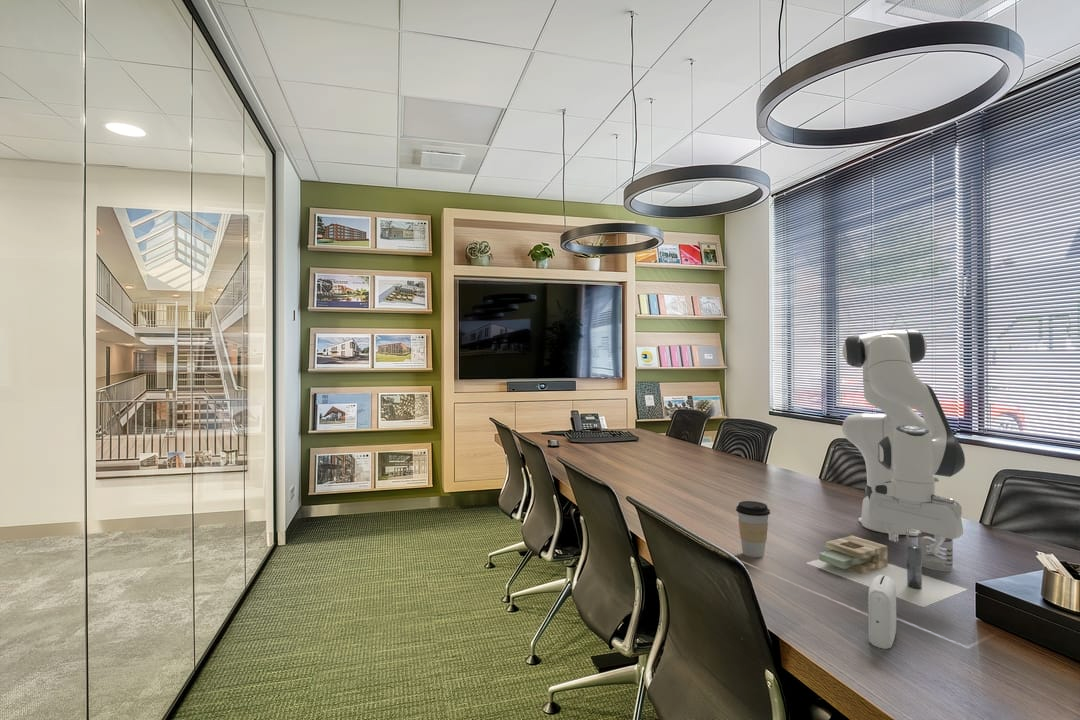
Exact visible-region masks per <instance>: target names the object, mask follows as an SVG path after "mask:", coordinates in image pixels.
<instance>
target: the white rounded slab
mask: <svg viewBox="0 0 1080 720" xmlns="http://www.w3.org/2000/svg"><path fill="white" fill-rule="evenodd" d="M867 599H868V606H867V607H868V640H869V643H871V645H872V646H874V647H875V648H880V649H884V650H888V649H891V648H892V646H893V644H894V641H895V637H896V633H897V597H896V585H895V583H894V581H893V580H892V579H891V578H890V577H888V576H883V575H878V576H876V577H875V578H874V579H873V580H872V582H871V584H870V587H869V588H868V598H867Z"/></svg>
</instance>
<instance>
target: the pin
mask: <svg viewBox="0 0 1080 720" xmlns="http://www.w3.org/2000/svg"><path fill="white" fill-rule="evenodd" d="M915 545H916V544H915ZM915 545H913V544H907V545H906V569H907V586H908V587H910V588H913V589H922V575H923V573H922V572H923V571H922V570H923V569H922V567H923V566H922V548H921V547H919V546H918V545H917V546H915Z"/></svg>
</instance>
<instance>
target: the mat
mask: <svg viewBox="0 0 1080 720" xmlns="http://www.w3.org/2000/svg"><path fill="white" fill-rule="evenodd" d="M806 565H809V566H812V567H815V568H818V569H820V570H822V571H825V572H828V573H830V574H834V575H836V576H839V577H841V578H844V579H846V580H850V581H852V582H855V583H858V584H860V585H862V586H866V587H870V584H871V582H872V580H873V579H874V578H875V577H876V576H878V575H883V576H888V577H890V578H891V579H892V580H893V581H894V583H895V585H896V599H900V600H902V601H905V602H908V603H910V604H913V605H915V606H919V607H921V608H925V607H927V606H931V605H932V604H935V603H938V602H940V601H942V600H946V599H948V598H950V597H953V596H956V595H957V594H960V593H963V592H966V591H968V590H969V589H968V588H965V587H961V586H958V585H955V584H952V583H950V582H947V581H943V580H941V579H937V578H934V577H931V576H928V575H924V574H922V589H913V588H910V587H908V586H907V568H903V567H900V566H897V565H895V564H891V563H888V562H887V566H885V567H882V568H879V569H876V570H873V571H869V572H866V573H863V574H859V573H857V572H854V571H851V570H848V569H843V568H840V567H837V566H834V565H832V564H829V563H826V562H823V561H821V560H819V558H818V559H815V560H811V561H808V562H806Z"/></svg>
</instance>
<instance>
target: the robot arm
mask: <svg viewBox="0 0 1080 720" xmlns="http://www.w3.org/2000/svg"><path fill="white" fill-rule="evenodd" d="M927 349H928V345H927V341H926V339H925V337H924V334H923V333H921V332H920V331H919V330H915V329H906V330H881V331H876V332H870V333H863V334H854V335H851V336H848V337H847V338H845V340H844V343H843V346H842V355H843V358H844V360H845V361H846V364H847V365H849V366H851V367H855V368H862V385H863V396H864V399H865V400H866V402H868V404H869V405H871V406H873V407H875V408H878V409H879V410H881V411H882V412H883V413H866V412H864V413H863V412H862V413H861V412H860V413H854V414H849V415H848V416H847V417H845V418H844V419H843V422H842V426H841V427H842V433H843V435H844V437H845V439H846V440H847V441H848V442H849V443H851V444H853V445H854V446H855V447H856V448H857V450H858V451H859V452H860V453H861V455H862V457H863V460H864V462H865V469H866V484H865V488H864V489H865V495H866V496H865V497H864V498H863V500H862V504H861V505H862V507H861V517H858V522H859V523H861V525H862V527H864V528H866V529H868V530H872V531H873V532H879V533H883V534H888V540H889V541H891V542H895V543H896V542H899V535H905V536H906V528H907V536H908V529H909V528H910V529H909V537H910V536H911V537H918V534H919V533H922V532H925V533H929V534H933V535H934V539H933V540H935V539H936V540H935V541H936V542H935V543H934V544H930V545H929V546H928V547H929V548H930V549H929V550H928V552H933V553H936V554H937V553H941V551H940V549H941V547H940V545H941V544H942V543H943V542H944V541H945V538H949V539H952V540H956V539H960V538H961V537H962V536H963V535H964V526H963V519H962V516H963V515H962V513H963V511H962V509H963V508H962V506H961V504H960V503H959V502H957V501H956V500H955V499H953V498H950V497H942V496H939V495H936V488H935V487H936V485H935V484H936V482H935V479H934V477H935V476H940V477H949V478H950V477H953V476H955V475H956V474H958V473H959V472H961V471H962V470H963V469H964V468H965V465H966V457H965V453H964V450H963V447H962V445H961V444H960V442H959V441H958V439H957V437H956V436H955V434H954V433H953V430H952V428H951V426H950V423H949V421H948V418H947V416H946V414H945V413H944V409H943V408H942V405H941V403H940V401H939V398H938V397H937V395H936V393H935V392H934V390H933V388H932V387H931V386H930V385H929V384H927V383H924V382H923V381H922V380H921V379H920V378H919V376H917V374H916V373H915V370H914V367H913V364H915V363H918V362H921V360H923V359H924V358H925V355H926V353H927ZM913 409H914V410H915V411H917V412H918V413H920V415H919V414H918V413H917V412H915V411H914V410H913ZM921 415H922V416H921ZM920 531H922V532H920ZM936 554H935V555H936Z"/></svg>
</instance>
